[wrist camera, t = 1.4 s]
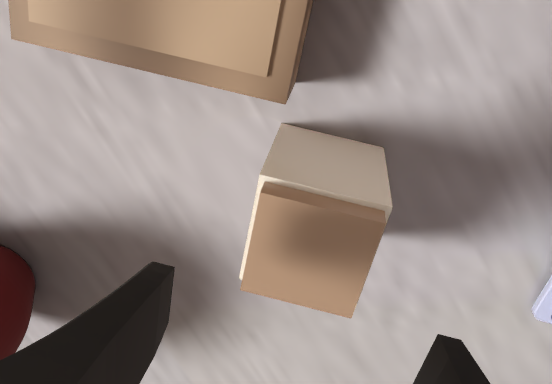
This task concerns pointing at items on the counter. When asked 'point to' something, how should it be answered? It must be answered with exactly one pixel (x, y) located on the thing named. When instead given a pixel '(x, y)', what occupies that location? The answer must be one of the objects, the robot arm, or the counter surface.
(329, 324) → the counter surface
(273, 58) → the tan square tray
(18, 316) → the mug
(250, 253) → the beige rectangular block
